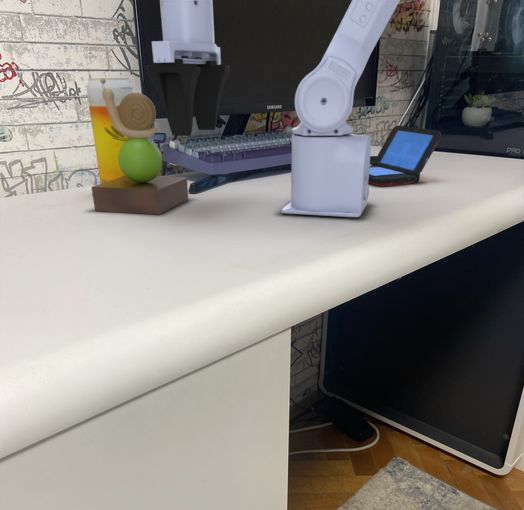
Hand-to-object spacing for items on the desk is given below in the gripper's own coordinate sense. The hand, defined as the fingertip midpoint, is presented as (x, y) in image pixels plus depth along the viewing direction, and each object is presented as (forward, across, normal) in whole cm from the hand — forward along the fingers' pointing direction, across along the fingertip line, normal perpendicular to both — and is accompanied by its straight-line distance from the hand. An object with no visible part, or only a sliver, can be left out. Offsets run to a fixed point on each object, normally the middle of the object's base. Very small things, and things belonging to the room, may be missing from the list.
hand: (195, 132), depth 64 cm
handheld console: (+9, -28, +21) cm, 36 cm away
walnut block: (+9, 0, -8) cm, 12 cm away
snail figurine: (+6, 0, -8) cm, 10 cm away
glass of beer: (+9, -7, -15) cm, 19 cm away
